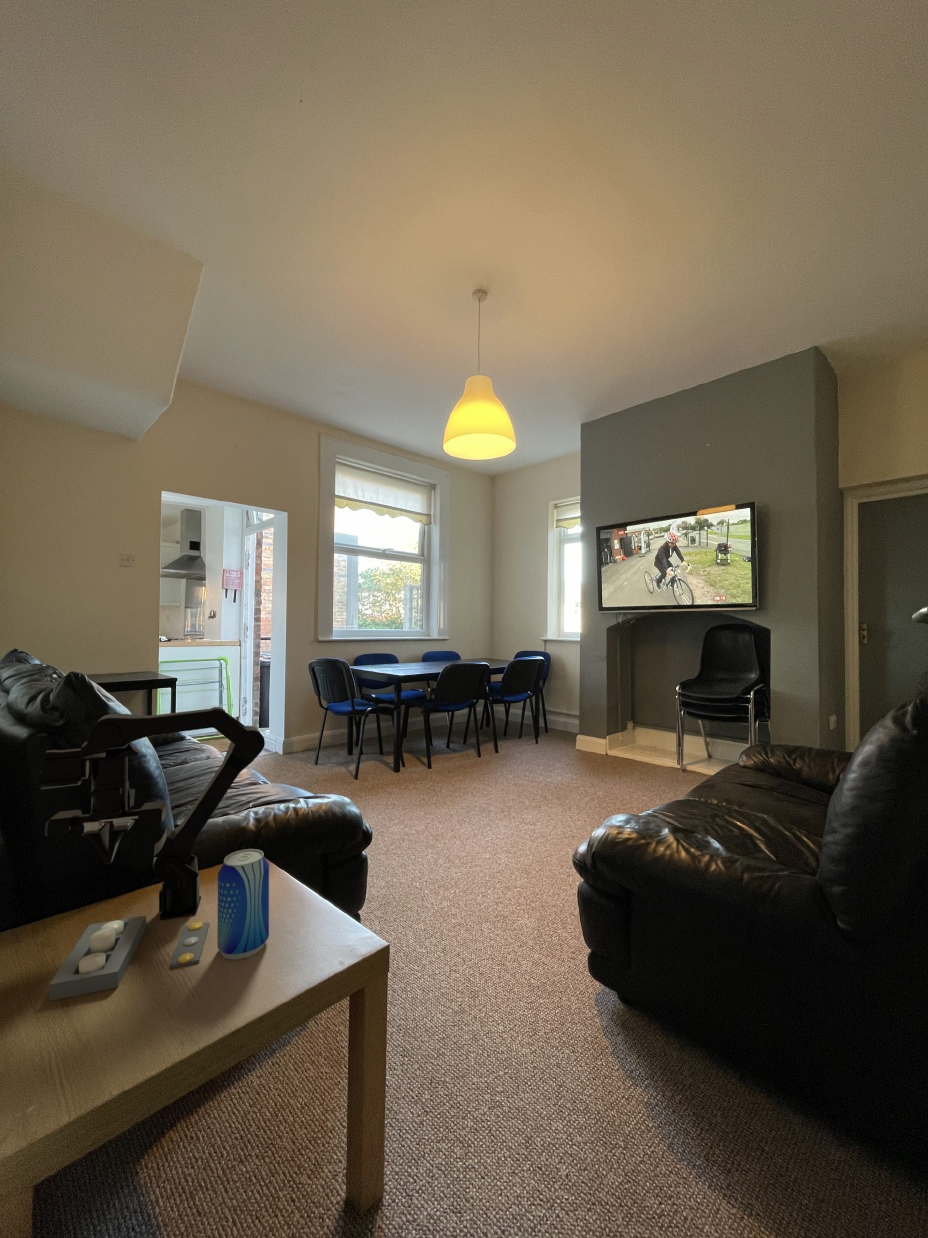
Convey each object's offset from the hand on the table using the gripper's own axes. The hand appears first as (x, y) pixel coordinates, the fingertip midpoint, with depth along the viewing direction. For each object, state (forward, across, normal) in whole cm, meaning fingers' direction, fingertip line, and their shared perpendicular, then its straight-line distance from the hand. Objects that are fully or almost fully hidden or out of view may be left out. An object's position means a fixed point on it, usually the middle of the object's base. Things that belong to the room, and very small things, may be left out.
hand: (109, 863), depth 99 cm
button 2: (+11, -2, +7) cm, 13 cm away
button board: (+12, -2, +12) cm, 17 cm away
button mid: (+10, -2, +12) cm, 16 cm away
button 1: (+11, -2, +17) cm, 20 cm away
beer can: (+12, -25, +16) cm, 32 cm away
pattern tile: (+12, -16, +12) cm, 23 cm away
